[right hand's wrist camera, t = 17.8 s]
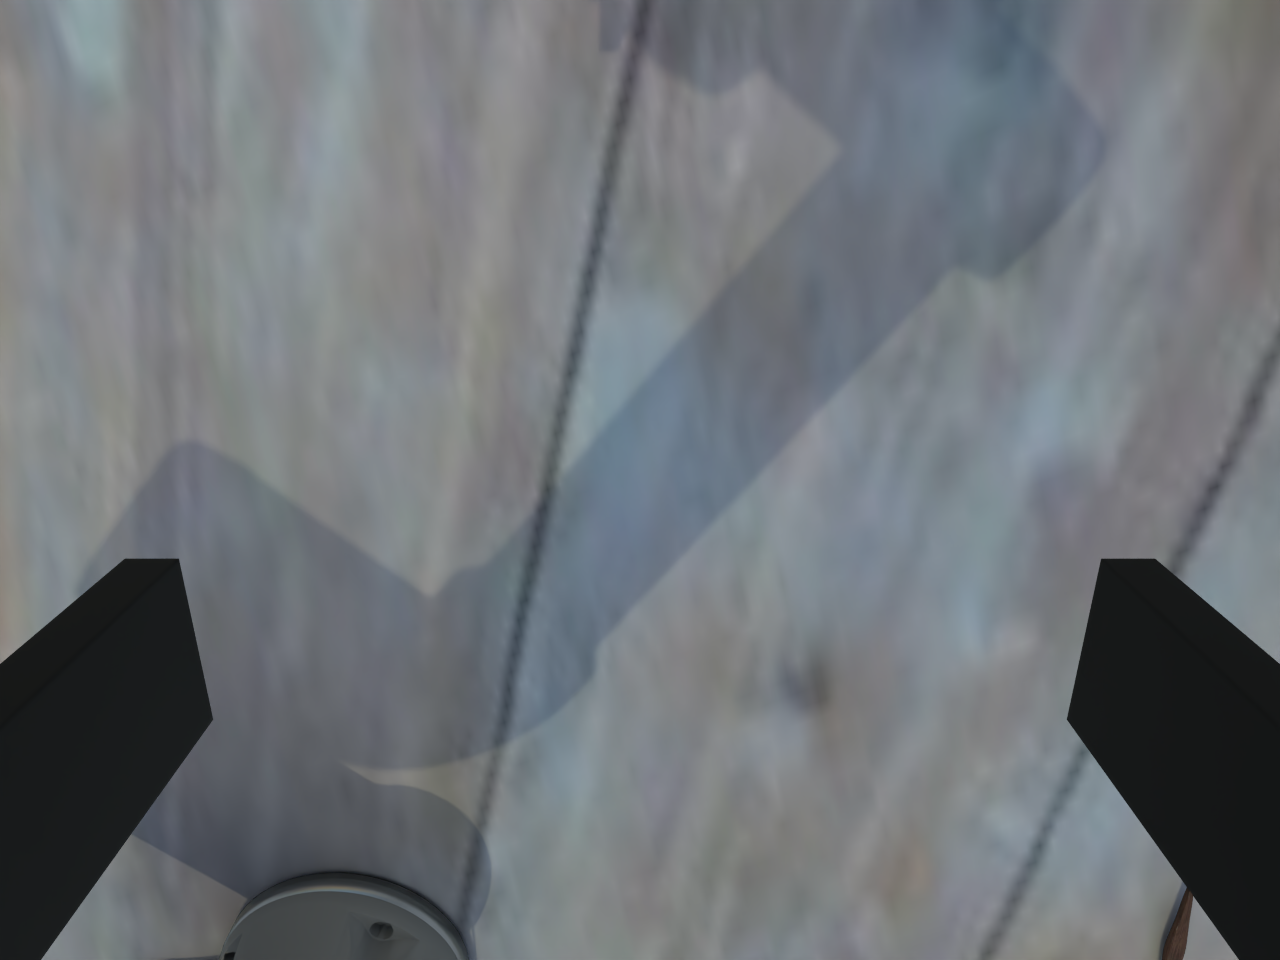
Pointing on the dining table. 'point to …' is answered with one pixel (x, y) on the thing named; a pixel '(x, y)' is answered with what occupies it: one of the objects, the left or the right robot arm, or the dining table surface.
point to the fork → (1179, 930)
